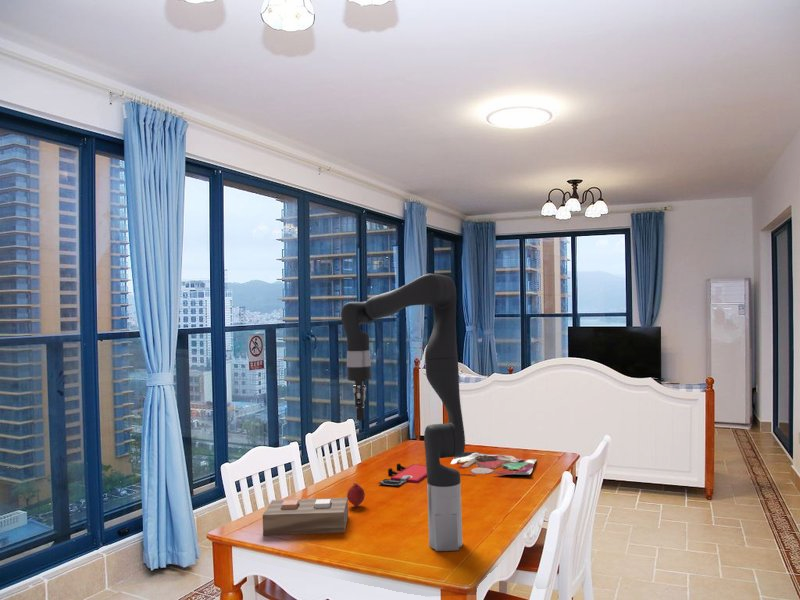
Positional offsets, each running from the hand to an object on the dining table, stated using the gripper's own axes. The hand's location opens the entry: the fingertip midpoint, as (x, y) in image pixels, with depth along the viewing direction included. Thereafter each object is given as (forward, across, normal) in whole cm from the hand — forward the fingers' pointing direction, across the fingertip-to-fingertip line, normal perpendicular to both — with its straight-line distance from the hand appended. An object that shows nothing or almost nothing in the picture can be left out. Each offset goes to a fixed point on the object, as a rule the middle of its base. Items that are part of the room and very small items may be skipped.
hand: (360, 419), depth 193 cm
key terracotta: (+28, -5, +22) cm, 36 cm away
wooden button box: (+31, -5, +17) cm, 36 cm away
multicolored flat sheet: (+32, +60, -50) cm, 85 cm away
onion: (+31, +12, +3) cm, 34 cm away
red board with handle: (+32, +47, -15) cm, 59 cm away
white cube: (+28, -5, +12) cm, 31 cm away
